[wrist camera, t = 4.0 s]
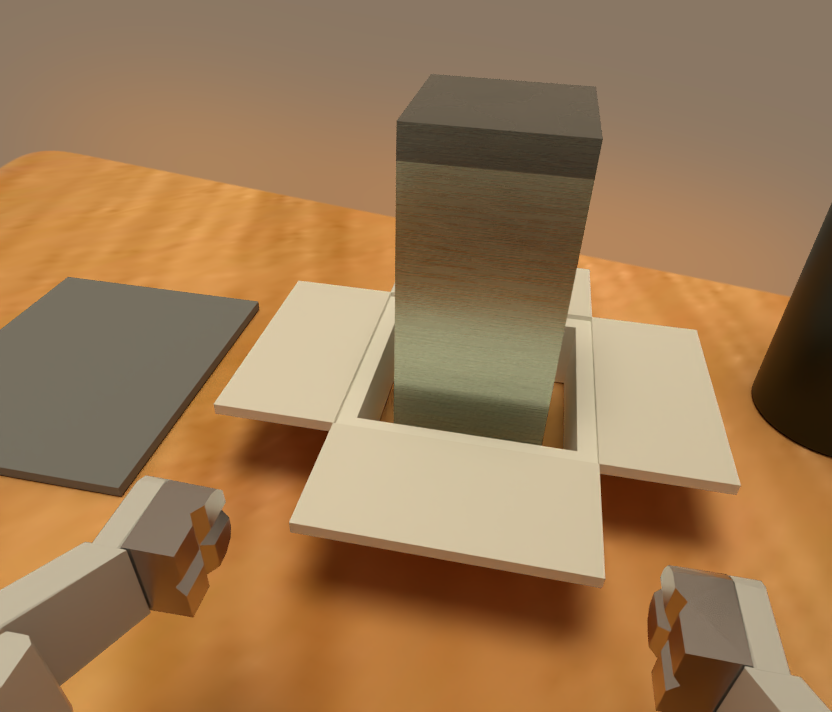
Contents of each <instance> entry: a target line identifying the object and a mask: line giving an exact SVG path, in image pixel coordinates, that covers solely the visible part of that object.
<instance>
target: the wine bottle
mask: <svg viewBox="0 0 832 712" xmlns="http://www.w3.org/2000/svg"><path fill="white" fill-rule="evenodd" d="M752 396H753V399H754V402H755V404H756V406H757V408H758V410H759V411H760V413H761V414H762V415H763V416H764V418H765V419H766V420H767V421H768V422H769V423H770V424H771V425H773V426H774V427H775V428H776V429H777V430H779V431H780V432H781V433H783V434H784V435H786V436H787V437H789V438H790V439H792V440H794V441H796V442H797V443H799V444H801V445H803V446H805V447H807V448H810V449H812V450H814V451H817V452H820V453H822V454H825V455H828V456H832V204H831V206H830V208H829V211H828V213H827V215H826V218H825V220H824V222H823V224H822V227H821V229H820V231H819V234H818V236H817V238H816V240H815V243H814V245H813V248H812V250H811V252H810V254H809V257H808V259H807V261H806V264H805V266H804V268H803V270H802V273H801V275H800V277H799V280H798V282H797V284H796V287H795V289H794V291H793V293H792V296H791V298H790V300H789V302H788V305H787V307H786V309H785V312H784V314H783V316H782V319H781V321H780V323H779V325H778V328H777V330H776V332H775V335H774V337H773V339H772V341H771V344H770V346H769V348H768V351H767V353H766V355H765V358H764V360H763V362H762V364H761V367H760V369H759V371H758V374H757V376H756V378H755V381H754V383H753V386H752Z"/></svg>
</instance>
